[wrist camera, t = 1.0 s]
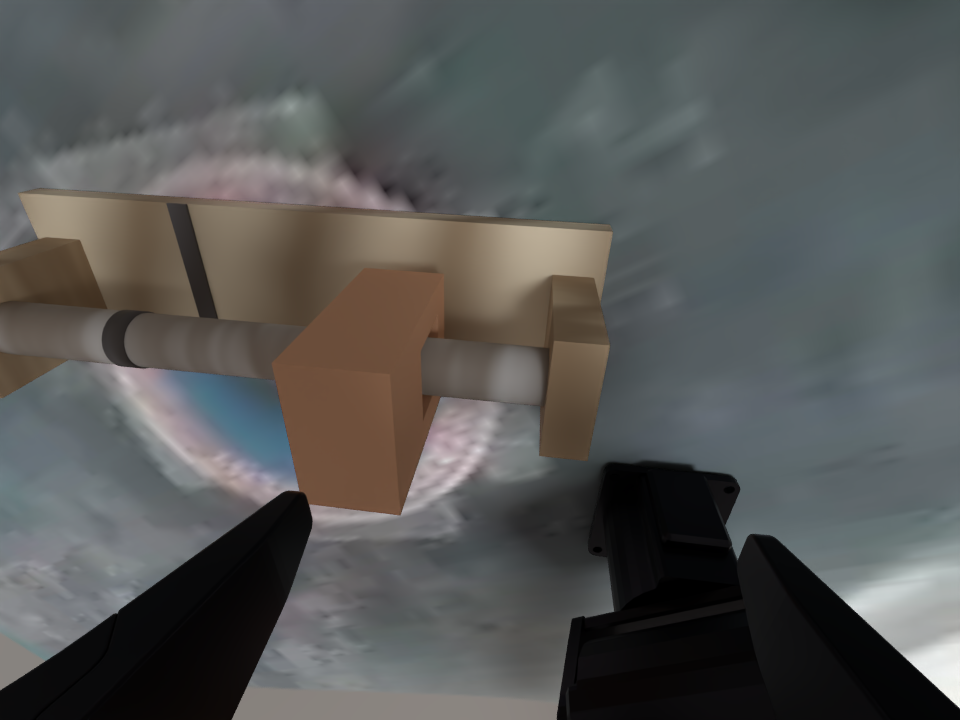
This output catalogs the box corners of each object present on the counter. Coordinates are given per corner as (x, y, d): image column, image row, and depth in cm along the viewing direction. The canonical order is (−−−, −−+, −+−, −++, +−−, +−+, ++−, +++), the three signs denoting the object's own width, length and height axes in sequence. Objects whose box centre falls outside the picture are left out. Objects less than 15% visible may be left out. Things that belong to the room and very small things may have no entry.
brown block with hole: (443, 273, 18) (389, 374, 12) (444, 385, 20) (400, 515, 14) (364, 267, 18) (271, 362, 12) (375, 378, 20) (302, 503, 14)
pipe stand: (609, 224, 18) (636, 287, 13) (580, 396, 22) (591, 500, 17) (39, 188, 20) (-151, 228, 15) (108, 350, 24) (-22, 430, 19)
